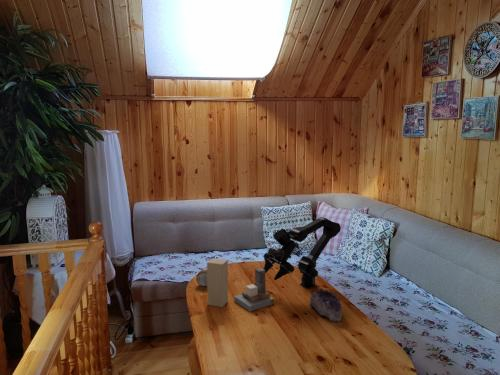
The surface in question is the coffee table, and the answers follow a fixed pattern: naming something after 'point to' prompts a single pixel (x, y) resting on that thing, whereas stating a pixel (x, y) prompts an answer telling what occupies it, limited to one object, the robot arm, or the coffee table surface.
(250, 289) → the box
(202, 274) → the tin
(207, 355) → the coffee table surface
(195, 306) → the coffee table surface
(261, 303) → the dock
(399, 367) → the coffee table surface
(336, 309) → the geode
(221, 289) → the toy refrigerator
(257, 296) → the grey column with base
